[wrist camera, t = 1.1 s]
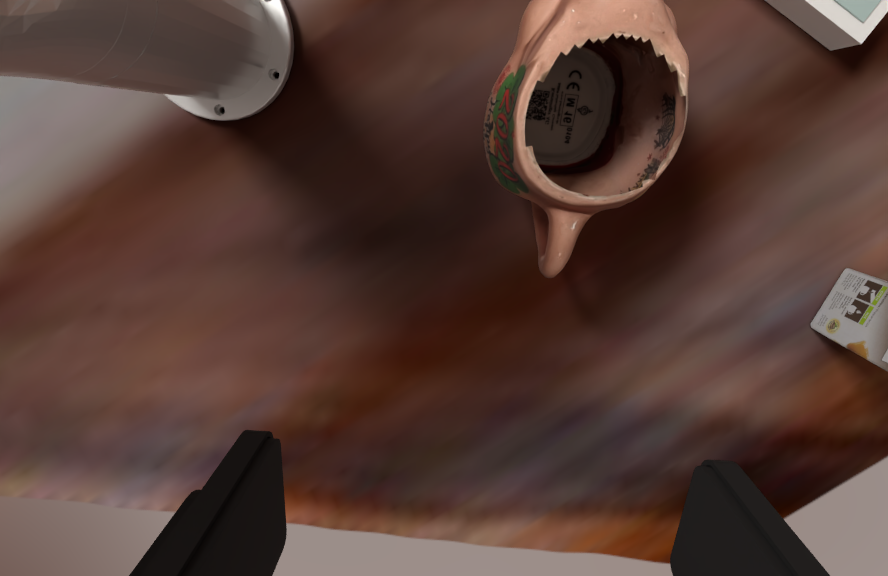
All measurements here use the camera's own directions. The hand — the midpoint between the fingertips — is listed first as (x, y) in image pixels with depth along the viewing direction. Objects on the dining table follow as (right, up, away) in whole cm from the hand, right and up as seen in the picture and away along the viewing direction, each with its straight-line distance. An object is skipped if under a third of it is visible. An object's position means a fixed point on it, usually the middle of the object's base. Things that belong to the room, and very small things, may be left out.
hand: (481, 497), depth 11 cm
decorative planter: (+8, +18, +29) cm, 35 cm away
